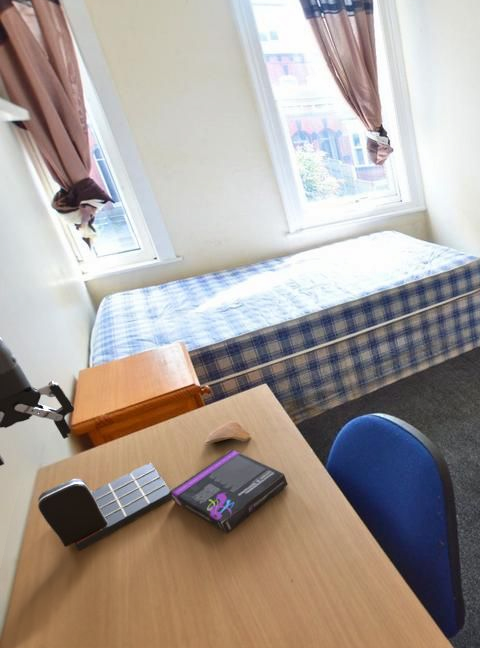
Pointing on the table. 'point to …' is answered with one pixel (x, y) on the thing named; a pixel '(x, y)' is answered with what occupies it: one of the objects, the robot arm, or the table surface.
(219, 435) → the pottery shard
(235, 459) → the box
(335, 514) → the table surface
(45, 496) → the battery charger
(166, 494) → the board
